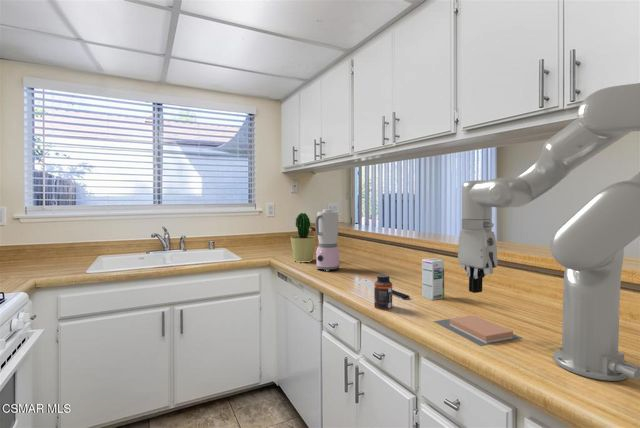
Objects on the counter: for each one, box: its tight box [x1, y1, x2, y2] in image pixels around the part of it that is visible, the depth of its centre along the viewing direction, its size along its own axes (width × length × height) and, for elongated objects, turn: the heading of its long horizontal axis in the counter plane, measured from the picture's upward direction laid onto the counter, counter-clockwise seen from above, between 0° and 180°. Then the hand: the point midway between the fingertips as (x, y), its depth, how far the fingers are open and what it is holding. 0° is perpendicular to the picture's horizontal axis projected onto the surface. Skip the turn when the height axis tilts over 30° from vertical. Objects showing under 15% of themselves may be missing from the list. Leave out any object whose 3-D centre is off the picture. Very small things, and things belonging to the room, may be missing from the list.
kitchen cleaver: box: [354, 279, 410, 301], centre depth 136 cm, size 31×2×10 cm
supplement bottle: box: [373, 273, 393, 311], centre depth 113 cm, size 6×6×11 cm
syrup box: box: [421, 257, 445, 301], centre depth 125 cm, size 6×6×14 cm
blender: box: [315, 209, 340, 272], centre depth 177 cm, size 16×12×32 cm
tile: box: [449, 314, 514, 343], centre depth 91 cm, size 2×9×13 cm
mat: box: [433, 318, 523, 347], centre depth 93 cm, size 18×14×1 cm
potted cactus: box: [290, 212, 317, 261], centre depth 203 cm, size 15×15×30 cm
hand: (475, 291), depth 92 cm, fingers closed
